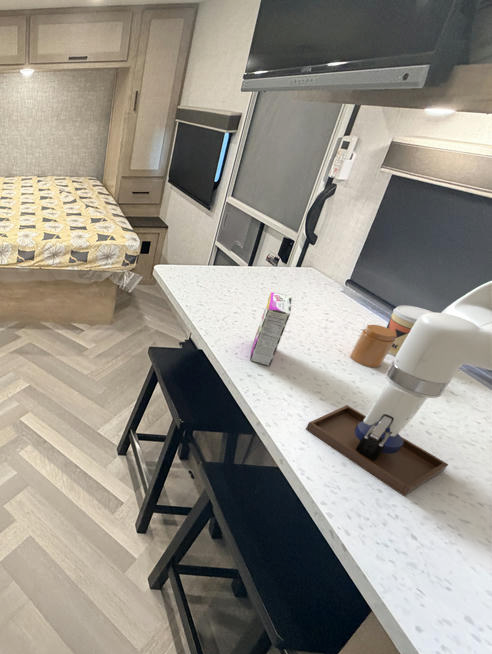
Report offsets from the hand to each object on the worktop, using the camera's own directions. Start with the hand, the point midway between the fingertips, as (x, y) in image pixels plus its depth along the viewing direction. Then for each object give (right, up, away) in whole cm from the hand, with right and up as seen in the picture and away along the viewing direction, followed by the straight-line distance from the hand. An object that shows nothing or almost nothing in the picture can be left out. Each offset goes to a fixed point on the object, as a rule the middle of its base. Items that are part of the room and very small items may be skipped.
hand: (373, 446), depth 80 cm
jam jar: (+23, +13, +26) cm, 38 cm away
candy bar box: (-3, +14, +29) cm, 33 cm away
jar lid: (0, +3, -1) cm, 3 cm away
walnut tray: (0, -1, 0) cm, 1 cm away
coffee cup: (+36, +15, +30) cm, 49 cm away
